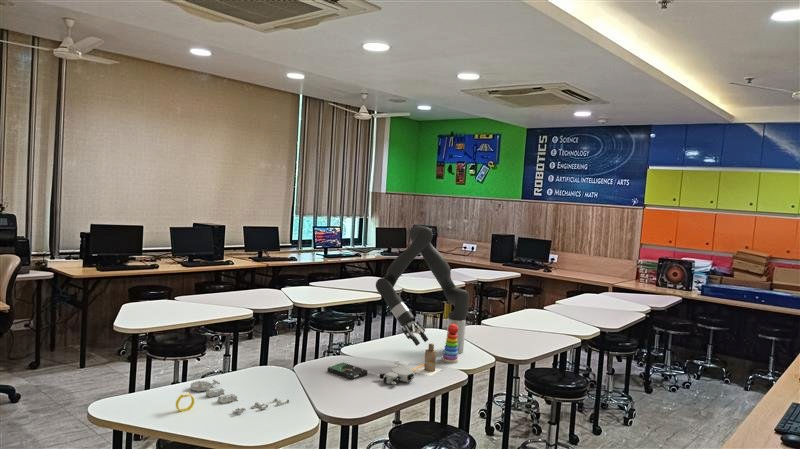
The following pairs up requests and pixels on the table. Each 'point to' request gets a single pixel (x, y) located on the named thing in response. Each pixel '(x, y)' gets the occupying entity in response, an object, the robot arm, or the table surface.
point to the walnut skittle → (430, 359)
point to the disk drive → (347, 371)
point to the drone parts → (203, 386)
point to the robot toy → (397, 375)
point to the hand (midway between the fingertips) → (422, 342)
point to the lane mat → (417, 368)
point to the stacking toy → (451, 345)
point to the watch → (182, 397)
